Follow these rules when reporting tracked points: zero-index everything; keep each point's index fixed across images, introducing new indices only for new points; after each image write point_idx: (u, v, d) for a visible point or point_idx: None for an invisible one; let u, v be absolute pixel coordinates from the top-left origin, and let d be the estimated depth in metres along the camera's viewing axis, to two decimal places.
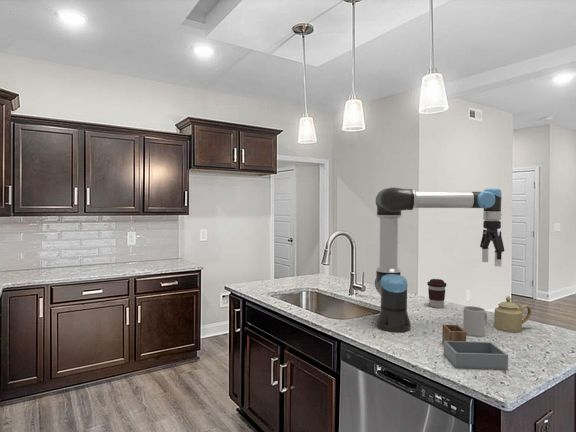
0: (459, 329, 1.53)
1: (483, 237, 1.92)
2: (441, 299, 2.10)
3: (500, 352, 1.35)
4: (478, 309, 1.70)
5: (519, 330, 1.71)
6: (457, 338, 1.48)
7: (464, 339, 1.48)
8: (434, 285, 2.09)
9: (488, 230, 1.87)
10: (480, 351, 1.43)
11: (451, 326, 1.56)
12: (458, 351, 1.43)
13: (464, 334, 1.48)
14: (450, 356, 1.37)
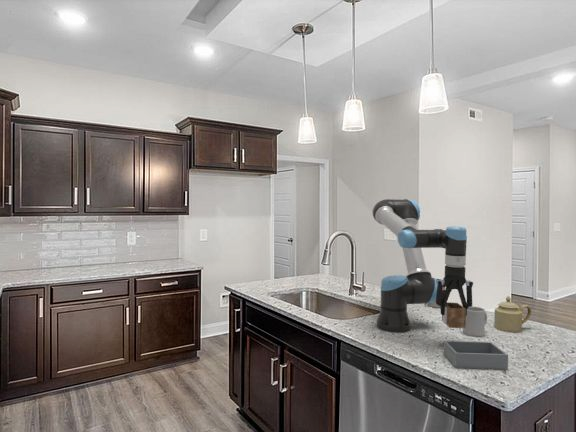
0: (459, 307, 1.53)
1: (466, 290, 1.53)
2: (441, 299, 2.10)
3: (500, 352, 1.35)
4: (478, 309, 1.70)
5: (519, 330, 1.71)
6: (457, 315, 1.48)
7: (464, 316, 1.48)
8: None
9: None
10: (480, 351, 1.43)
11: (451, 304, 1.56)
12: (458, 351, 1.43)
13: (464, 311, 1.48)
14: (450, 356, 1.37)
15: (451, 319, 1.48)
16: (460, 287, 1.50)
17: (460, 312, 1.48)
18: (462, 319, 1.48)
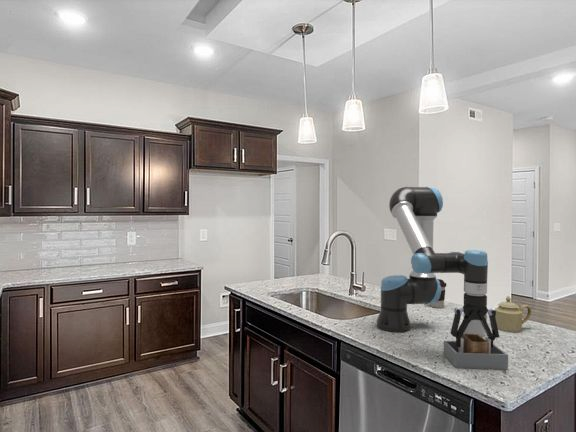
0: (480, 339, 1.38)
1: None
2: (441, 299, 2.10)
3: (500, 352, 1.35)
4: None
5: (519, 330, 1.71)
6: (479, 349, 1.33)
7: (486, 350, 1.33)
8: None
9: None
10: None
11: (471, 335, 1.41)
12: None
13: (486, 345, 1.33)
14: (450, 356, 1.37)
15: None
16: (482, 317, 1.36)
17: (482, 346, 1.33)
18: None
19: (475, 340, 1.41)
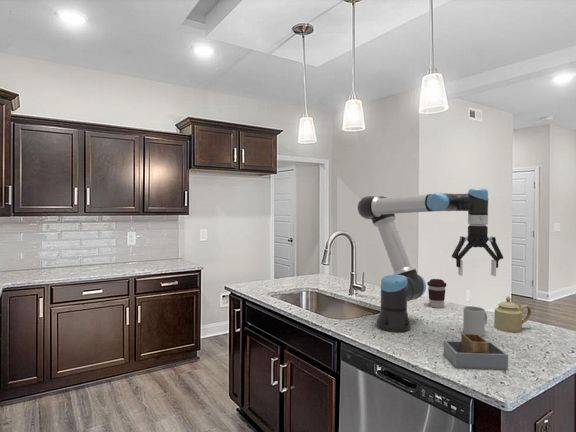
0: (480, 339, 1.38)
1: (492, 245, 1.62)
2: (441, 299, 2.10)
3: (500, 352, 1.35)
4: (478, 309, 1.70)
5: (519, 330, 1.71)
6: (479, 349, 1.33)
7: (486, 350, 1.33)
8: (434, 285, 2.09)
9: None
10: None
11: (471, 335, 1.41)
12: (458, 351, 1.43)
13: (486, 345, 1.33)
14: (450, 356, 1.37)
15: None
16: (485, 244, 1.60)
17: (482, 346, 1.33)
18: None
19: (475, 340, 1.41)
